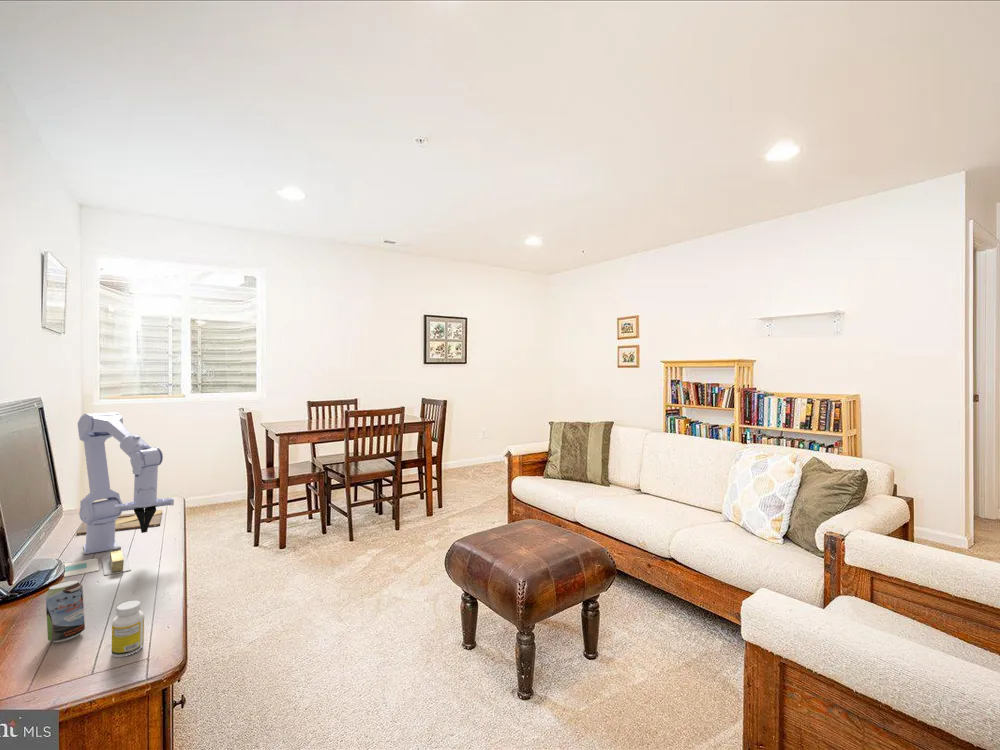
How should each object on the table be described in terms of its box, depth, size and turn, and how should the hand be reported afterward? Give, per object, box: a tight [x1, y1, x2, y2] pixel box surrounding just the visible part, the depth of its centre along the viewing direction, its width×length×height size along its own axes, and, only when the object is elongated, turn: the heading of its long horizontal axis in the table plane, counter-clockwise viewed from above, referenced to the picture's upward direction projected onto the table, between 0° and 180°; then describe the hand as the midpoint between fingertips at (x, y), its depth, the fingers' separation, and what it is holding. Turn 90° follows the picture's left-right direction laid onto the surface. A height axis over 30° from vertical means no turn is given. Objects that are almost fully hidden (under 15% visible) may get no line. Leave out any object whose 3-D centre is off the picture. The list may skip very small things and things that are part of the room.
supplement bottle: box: [111, 600, 145, 658], centre depth 101 cm, size 5×5×10 cm
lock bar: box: [110, 549, 124, 572], centre depth 141 cm, size 9×2×3 cm, turn 42°
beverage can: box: [45, 579, 86, 643], centre depth 105 cm, size 6×7×12 cm
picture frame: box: [76, 509, 163, 536], centre depth 180 cm, size 19×2×24 cm
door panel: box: [63, 546, 132, 578], centre depth 141 cm, size 16×14×4 cm
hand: (144, 531), depth 147 cm, fingers closed
